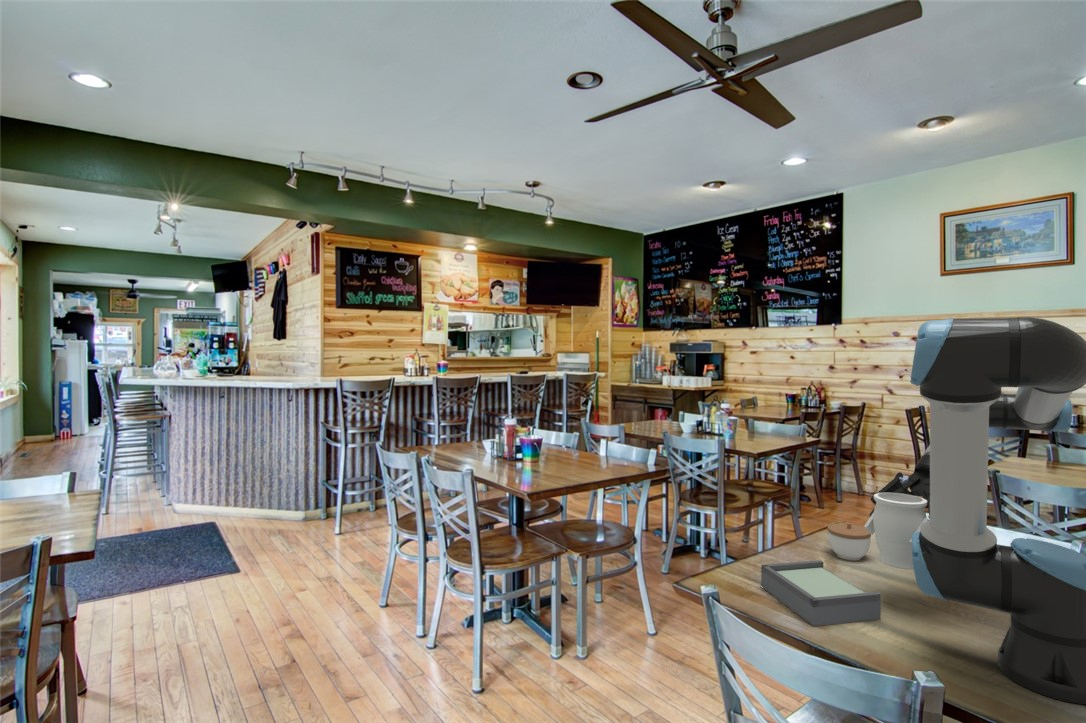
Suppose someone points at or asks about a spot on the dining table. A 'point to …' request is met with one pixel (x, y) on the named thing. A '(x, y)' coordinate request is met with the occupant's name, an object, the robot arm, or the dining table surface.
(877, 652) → the dining table surface
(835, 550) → the lidded jar
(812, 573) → the tray
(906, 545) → the jar
